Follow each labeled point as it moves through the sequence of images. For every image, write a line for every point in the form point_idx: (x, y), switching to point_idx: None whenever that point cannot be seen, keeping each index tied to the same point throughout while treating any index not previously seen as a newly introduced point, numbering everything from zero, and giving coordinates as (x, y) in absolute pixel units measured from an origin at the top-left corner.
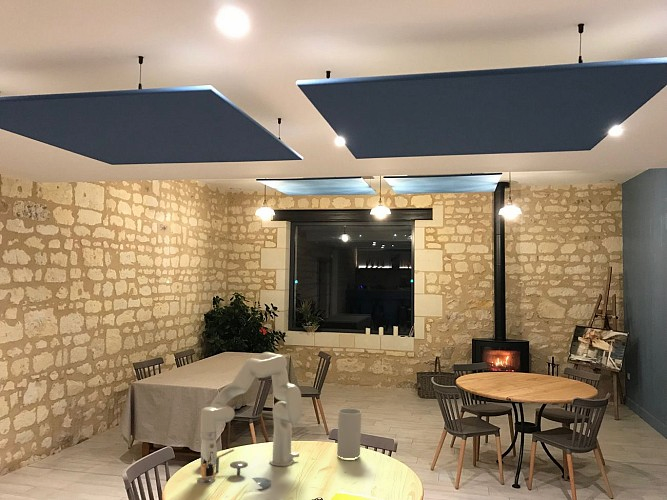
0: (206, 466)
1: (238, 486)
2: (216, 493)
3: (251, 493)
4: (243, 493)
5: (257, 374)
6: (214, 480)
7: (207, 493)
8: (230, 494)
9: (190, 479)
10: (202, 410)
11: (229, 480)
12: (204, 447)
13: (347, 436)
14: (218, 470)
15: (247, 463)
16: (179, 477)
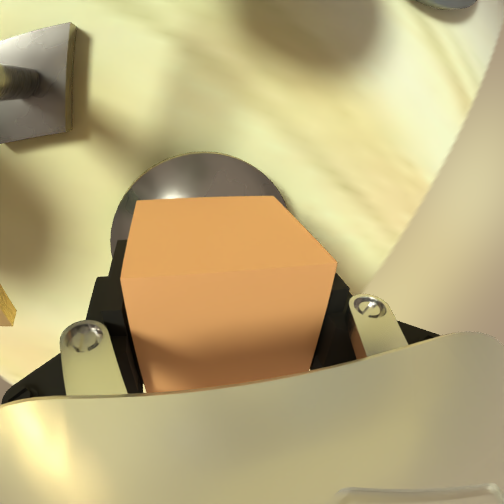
0: (283, 368)
1: (386, 24)
2: (400, 215)
3: (484, 47)
4: (472, 77)
5: None
6: (241, 171)
7: (367, 266)
8: (451, 146)
9: (64, 318)
10: None
11: (230, 8)
12: None
13: None
14: (22, 67)
15: None
16: (23, 362)
